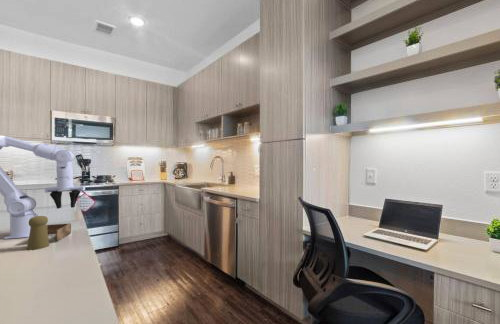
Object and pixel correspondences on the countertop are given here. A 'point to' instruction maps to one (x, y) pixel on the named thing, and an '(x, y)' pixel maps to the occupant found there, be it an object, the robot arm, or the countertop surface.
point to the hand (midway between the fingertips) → (66, 207)
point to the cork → (38, 233)
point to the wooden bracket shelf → (59, 230)
